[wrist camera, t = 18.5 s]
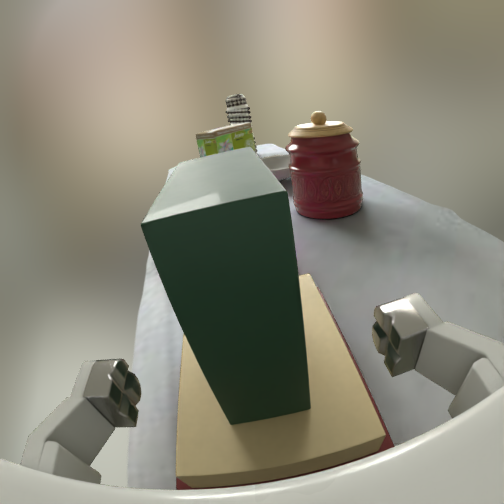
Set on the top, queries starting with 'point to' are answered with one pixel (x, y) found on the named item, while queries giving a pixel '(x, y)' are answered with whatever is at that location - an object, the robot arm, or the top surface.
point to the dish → (278, 165)
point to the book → (234, 281)
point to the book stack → (281, 417)
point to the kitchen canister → (324, 169)
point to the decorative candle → (238, 110)
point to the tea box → (225, 139)
